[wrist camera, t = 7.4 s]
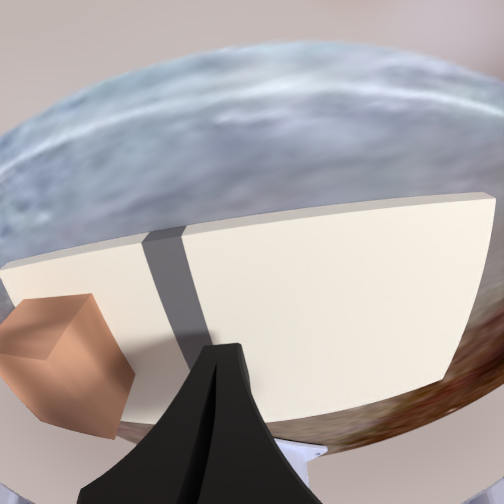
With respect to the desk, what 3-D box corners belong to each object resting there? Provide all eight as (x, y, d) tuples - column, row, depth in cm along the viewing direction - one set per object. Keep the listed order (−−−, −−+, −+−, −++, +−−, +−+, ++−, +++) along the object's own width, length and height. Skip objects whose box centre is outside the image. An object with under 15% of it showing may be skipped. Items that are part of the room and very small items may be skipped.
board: (482, 192, 9) (495, 198, 8) (436, 368, 14) (442, 378, 14) (8, 262, 10) (-3, 271, 10) (97, 406, 16) (93, 416, 15)
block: (92, 293, 10) (45, 360, 6) (135, 374, 12) (114, 439, 9) (23, 299, 10) (-19, 349, 7) (66, 369, 12) (40, 421, 9)
